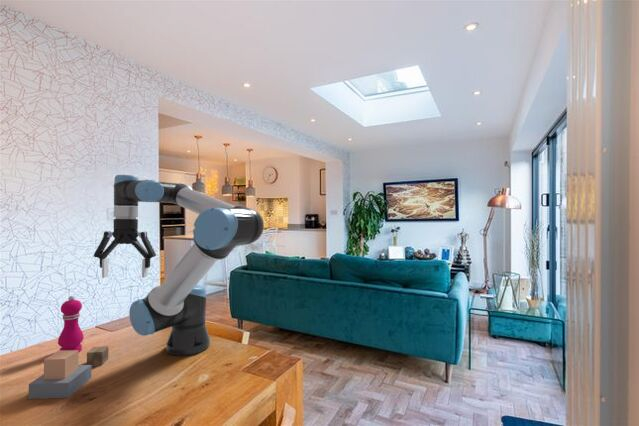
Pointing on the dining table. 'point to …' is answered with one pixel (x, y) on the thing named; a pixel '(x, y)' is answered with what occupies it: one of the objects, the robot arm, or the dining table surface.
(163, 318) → the robot arm
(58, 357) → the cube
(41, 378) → the pedestal
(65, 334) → the pepper mill
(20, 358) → the dining table surface
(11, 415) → the dining table surface
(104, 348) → the walnut block
